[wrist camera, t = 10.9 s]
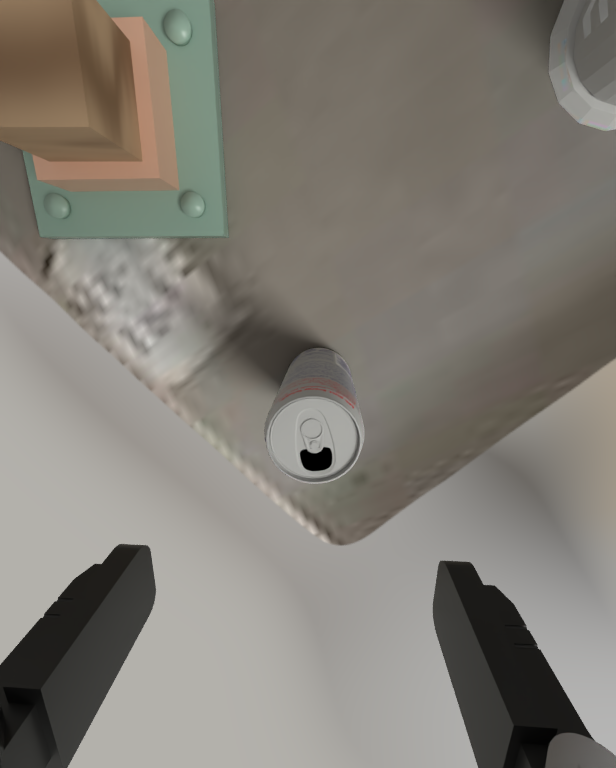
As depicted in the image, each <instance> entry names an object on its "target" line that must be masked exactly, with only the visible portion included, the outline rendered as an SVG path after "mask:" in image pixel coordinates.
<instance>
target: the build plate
mask: <svg viewBox="0 0 616 768" xmlns="http://www.w3.org/2000/svg"><path fill="white" fill-rule="evenodd" d="M97 2H98V3H99V4H100V5H101V7H102V8H103V9H104V10H105V11H106V13H107V14H108V15H109V16H110V17H111V19H112V20H113V21H114V22H115V24H116V25H117V26H118V27H119V28H120V30H121V31H122V32H123V33H124V35H125V36H126V37H127V38H128V39H129V41H130V47H131V57H132V66H133V75H134V85H135V94H136V104H137V113H138V122H139V132H140V141H141V151H142V160H143V162H49V161H47V160H45V159H42V158H40V157H38V156H35V155H33V154H31V153H28V152H26V151H24V150H22V151H23V156H24V161H25V166H26V171H27V176H28V180H29V185H30V190H31V195H32V200H33V205H34V210H35V215H36V219H37V224H38V229H39V234H40V237H44V238H50V239H110V238H229V235H228V218H227V202H226V185H225V168H224V151H223V135H222V118H221V101H220V85H219V68H218V51H217V35H216V18H215V4H214V1H213V0H97Z"/></svg>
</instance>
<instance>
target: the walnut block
mask: <svg viewBox="0 0 616 768" xmlns="http://www.w3.org/2000/svg"><path fill="white" fill-rule="evenodd" d="M0 140H1V141H3V142H5V143H7V144H10V145H12V146H14V147H17V148H19V149H21V150H24V151H26V152H28V153H31V154H33V155H35V156H38V157H40V158H42V159H45V160H47V161H49V162H143V160H142V151H141V141H140V132H139V122H138V113H137V104H136V94H135V85H134V75H133V66H132V57H131V47H130V41H129V39H128V38H127V37H126V36H125V35H124V33H123V32H122V31H121V30H120V28H119V27H118V26H117V25H116V24H115V22H114V21H113V20H112V19H111V17H110V16H109V15H108V14H107V13H106V11H105V10H104V9H103V8H102V7H101V5H100V4H99V3H98V2H97V0H0Z"/></svg>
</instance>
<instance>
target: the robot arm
mask: <svg viewBox="0 0 616 768" xmlns="http://www.w3.org/2000/svg"><path fill="white" fill-rule="evenodd" d="M155 594H156V588H155V579H154V572H153V565H152V558H151V551H150V548H149V547H148V546H146V545H128V544H120V545H118V546H117V547H115V548H114V550H113V551H112V552H111V553H110V554H109V556H108V557H107V558H106V559H105V561H104V562H103V563H102V564H94V565H93V566H91V567H90V568H89V569H88V570H86V571H85V572H83V573H82V574H81V575H79V576H78V577H76V578H75V579H74V580H73V581H72V582H71V583H70V585H69V586H68V587H67V588H66V589H65V590H64V592H63V593H62V594H61V595H60V596H59V597H58V600H57V602H54V603H53V604H52V605H51V607H50V608H49V609H48V610H47V612H45V614H44V617H43V618H40V619H39V621H38V622H37V623H36V624H35V625H34V626H33V628H32V629H31V630H30V631H29V632H28V634H27V635H26V636H25V637H24V638H23V639H22V640H21V641H20V643H19V644H18V645H17V646H16V647H15V648H14V650H13V651H12V652H11V653H10V654H9V655H8V657H7V658H6V659H5V660H4V661H3V662H2V664H1V665H0V768H67V767H68V765H69V763H70V762H71V760H72V758H73V756H74V754H75V752H76V751H77V749H78V747H79V745H80V743H81V741H82V739H83V737H84V736H85V734H86V732H87V730H88V728H89V726H90V725H91V723H92V721H93V719H94V717H95V715H96V713H97V711H98V710H99V708H100V706H101V704H102V702H103V700H104V699H105V697H106V695H107V693H108V691H109V689H110V687H111V686H112V684H113V682H114V680H115V678H116V676H117V674H118V673H119V671H120V669H121V667H122V665H123V663H124V661H125V659H126V658H127V656H128V654H129V652H130V650H131V648H132V647H133V645H134V643H135V641H136V639H137V637H138V635H139V634H140V632H141V630H142V628H143V626H144V624H145V622H146V621H147V619H148V617H149V615H150V613H151V610H152V607H153V604H154V601H155ZM433 619H434V625H435V630H436V634H437V637H438V640H439V643H440V646H441V650H442V653H443V656H444V659H445V663H446V666H447V669H448V672H449V675H450V679H451V682H452V685H453V688H454V691H455V695H456V698H457V701H458V704H459V707H460V711H461V714H462V717H463V720H464V723H465V726H466V730H467V733H468V736H469V739H470V743H471V746H472V749H473V752H474V755H475V758H476V762H477V765H478V768H616V756H615V755H614V754H613V753H612V752H610V751H609V750H608V749H606V748H605V747H603V746H602V745H601V744H599V743H597V742H595V741H594V739H593V738H592V737H591V735H590V734H589V732H588V731H587V729H586V727H585V726H584V724H583V722H582V720H581V719H580V717H579V715H578V714H577V712H576V710H575V709H574V707H573V705H572V703H571V702H570V700H569V698H568V697H567V695H566V693H565V692H564V690H563V688H562V686H561V685H560V683H559V681H558V679H557V678H556V676H555V674H554V672H553V671H552V669H551V667H550V666H549V664H548V662H547V660H546V659H545V657H544V655H543V654H542V652H541V650H539V649H538V647H537V643H536V642H535V640H534V638H533V636H532V635H531V633H530V631H529V630H527V628H526V624H525V623H524V621H523V619H522V618H521V616H520V614H519V612H518V611H517V609H516V607H515V606H514V604H513V603H512V602H511V601H510V600H509V599H508V598H507V597H506V596H505V595H504V594H503V593H502V592H501V591H500V590H499V589H497V587H495V586H492V585H483V583H482V581H481V579H480V577H479V576H478V574H477V572H476V570H475V568H474V566H473V565H472V564H471V563H470V562H457V561H440V563H439V566H438V572H437V579H436V586H435V594H434V601H433Z"/></svg>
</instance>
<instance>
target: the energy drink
mask: <svg viewBox="0 0 616 768" xmlns="http://www.w3.org/2000/svg"><path fill="white" fill-rule="evenodd" d="M264 432H265V441H266V447H267V450H268V454H269V456H270V458H271V460H272V461H273V463H274V464H275V465H276V467H277V468H278V469H279V470H280V471H281V472H283V473H284V474H285V475H287V476H288V477H290V478H292V479H294V480H297V481H300V482H304V483H310V484H320V483H326V482H330V481H333V480H335V479H338V478H339V477H341V476H343V475H344V474H345V473H347V472H348V471H349V470H350V469H351V468H352V466H353V465H354V464H355V462H356V461H357V459H358V457H359V454H360V451H361V449H362V446H363V442H364V425H363V420H362V416H361V412H360V408H359V404H358V400H357V396H356V392H355V388H354V384H353V380H352V376H351V372H350V369H349V367H348V364H347V363H346V361H345V360H344V359H343V358H342V357H341V356H340V355H339V354H337V353H336V352H334V351H332V350H329V349H326V348H312V349H308V350H306V351H304V352H302V353H300V354H299V355H298V356H297V357H296V358H295V359H294V360H293V361H292V363H291V365H290V366H289V369H288V371H287V373H286V375H285V378H284V380H283V382H282V384H281V387H280V389H279V391H278V393H277V395H276V398H275V400H274V402H273V404H272V407H271V409H270V411H269V413H268V416H267V419H266V422H265V429H264Z"/></svg>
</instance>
